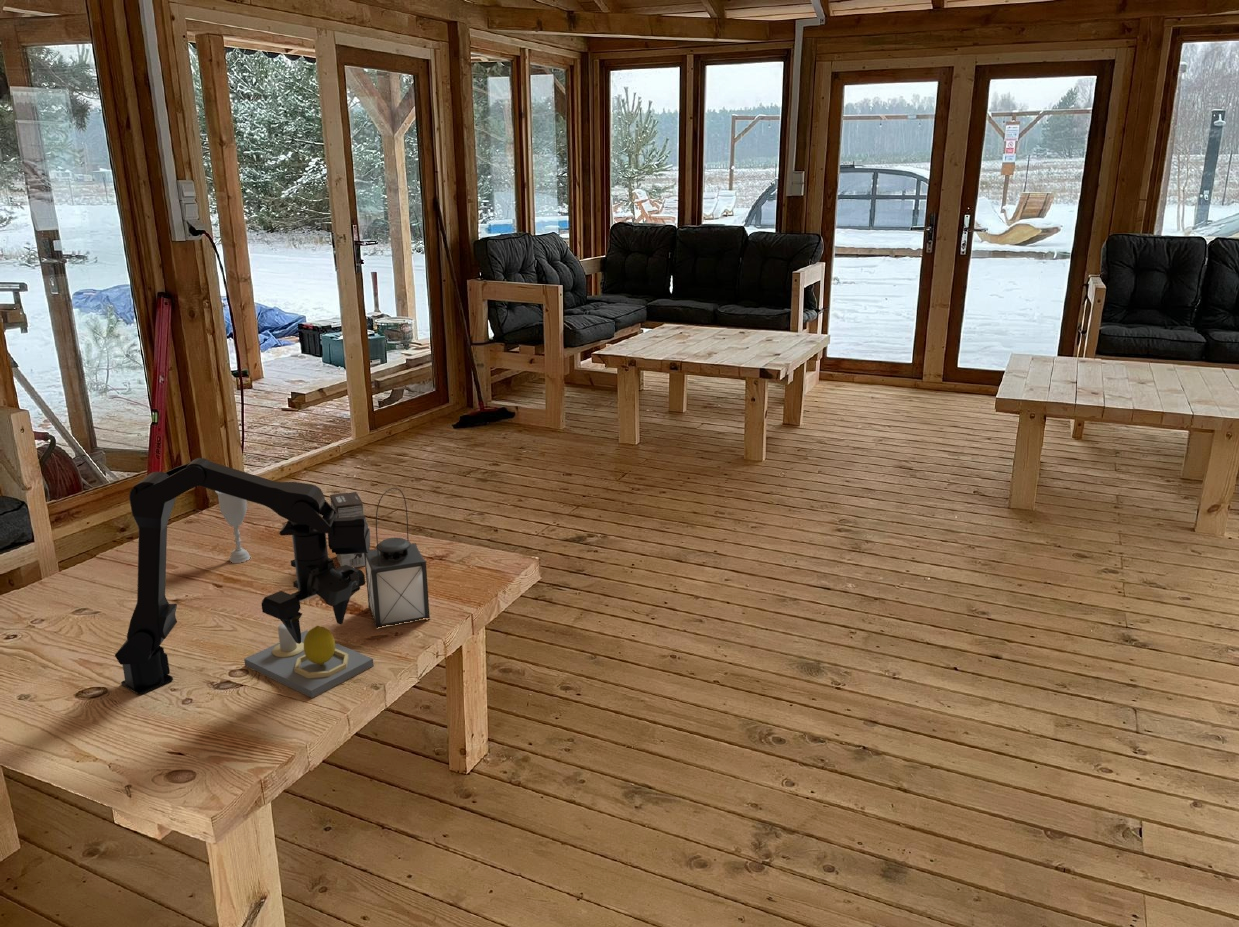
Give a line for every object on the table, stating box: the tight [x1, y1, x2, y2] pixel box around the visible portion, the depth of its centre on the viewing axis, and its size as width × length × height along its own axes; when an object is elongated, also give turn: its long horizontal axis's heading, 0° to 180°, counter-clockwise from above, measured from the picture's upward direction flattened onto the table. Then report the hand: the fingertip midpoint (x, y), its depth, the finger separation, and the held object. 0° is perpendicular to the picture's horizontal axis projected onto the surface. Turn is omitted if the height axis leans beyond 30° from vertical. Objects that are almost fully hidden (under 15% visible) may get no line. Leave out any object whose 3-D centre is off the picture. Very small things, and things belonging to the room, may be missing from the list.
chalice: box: [215, 491, 252, 564], centre depth 221 cm, size 7×7×18 cm
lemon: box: [304, 625, 336, 665], centre depth 170 cm, size 6×6×8 cm
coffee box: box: [329, 491, 365, 568], centre depth 220 cm, size 9×6×16 cm
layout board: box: [243, 623, 375, 699], centre depth 173 cm, size 14×20×6 cm
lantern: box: [364, 487, 431, 629], centre depth 191 cm, size 11×11×28 cm
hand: (319, 633), depth 170 cm, fingers open, 9 cm apart
